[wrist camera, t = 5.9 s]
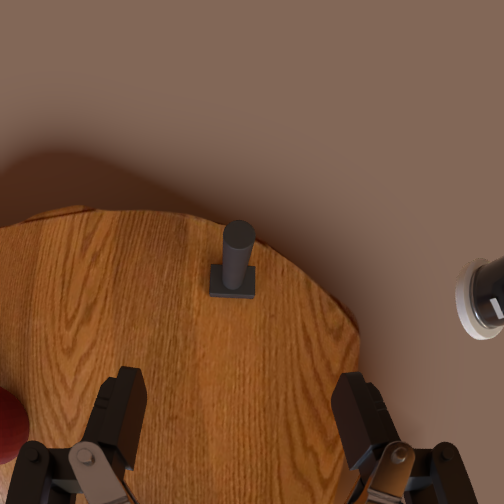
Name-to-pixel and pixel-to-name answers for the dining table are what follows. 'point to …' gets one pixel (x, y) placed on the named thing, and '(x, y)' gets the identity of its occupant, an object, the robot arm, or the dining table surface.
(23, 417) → the apple
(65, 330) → the dining table surface
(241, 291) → the t-shaped mushroom stamp
